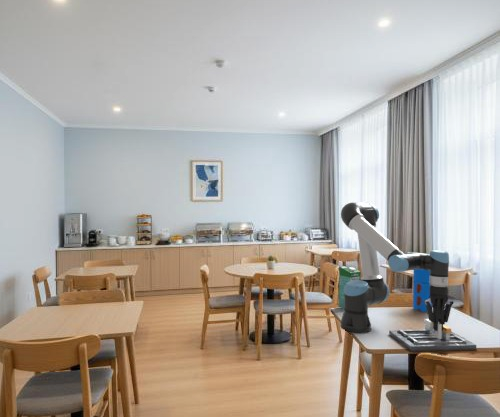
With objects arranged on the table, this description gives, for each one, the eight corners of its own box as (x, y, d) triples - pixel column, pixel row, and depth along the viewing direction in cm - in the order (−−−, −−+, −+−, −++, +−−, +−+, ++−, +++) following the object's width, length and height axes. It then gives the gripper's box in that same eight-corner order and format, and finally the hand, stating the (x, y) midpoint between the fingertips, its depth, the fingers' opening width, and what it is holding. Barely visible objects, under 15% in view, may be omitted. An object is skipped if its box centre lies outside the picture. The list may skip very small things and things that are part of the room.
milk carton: (349, 310, 216) (350, 268, 216) (338, 307, 224) (339, 266, 224) (360, 308, 221) (360, 267, 221) (348, 305, 229) (349, 265, 228)
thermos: (409, 309, 222) (410, 268, 221) (417, 305, 229) (418, 266, 229) (428, 313, 214) (429, 270, 213) (435, 309, 221) (436, 268, 221)
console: (411, 351, 157) (411, 343, 157) (388, 334, 177) (389, 327, 177) (476, 349, 159) (476, 342, 159) (447, 333, 180) (447, 326, 180)
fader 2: (446, 342, 161) (446, 328, 161) (439, 338, 167) (439, 324, 166) (450, 342, 162) (451, 328, 162) (443, 338, 167) (444, 324, 167)
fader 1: (430, 335, 170) (430, 322, 170) (423, 331, 175) (424, 318, 175) (434, 335, 170) (434, 322, 170) (428, 331, 176) (428, 318, 175)
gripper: (429, 287, 159) (428, 341, 159) (458, 287, 160) (457, 340, 160) (420, 283, 167) (419, 335, 167) (447, 283, 168) (446, 334, 168)
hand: (438, 337), depth 164 cm, fingers closed
